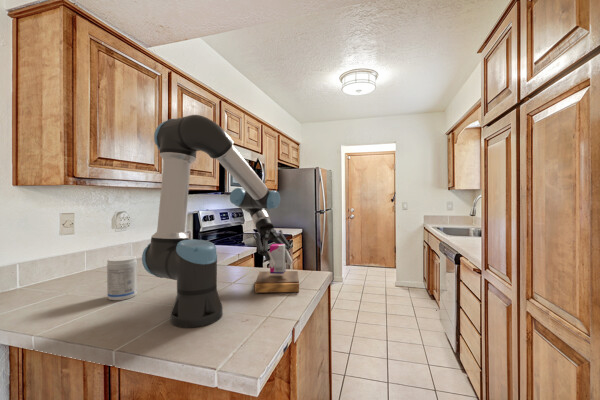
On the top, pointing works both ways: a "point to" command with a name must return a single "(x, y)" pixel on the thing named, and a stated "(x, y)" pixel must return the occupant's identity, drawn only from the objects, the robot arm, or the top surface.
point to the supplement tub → (122, 277)
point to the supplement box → (278, 258)
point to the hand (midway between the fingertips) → (282, 264)
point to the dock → (277, 282)
